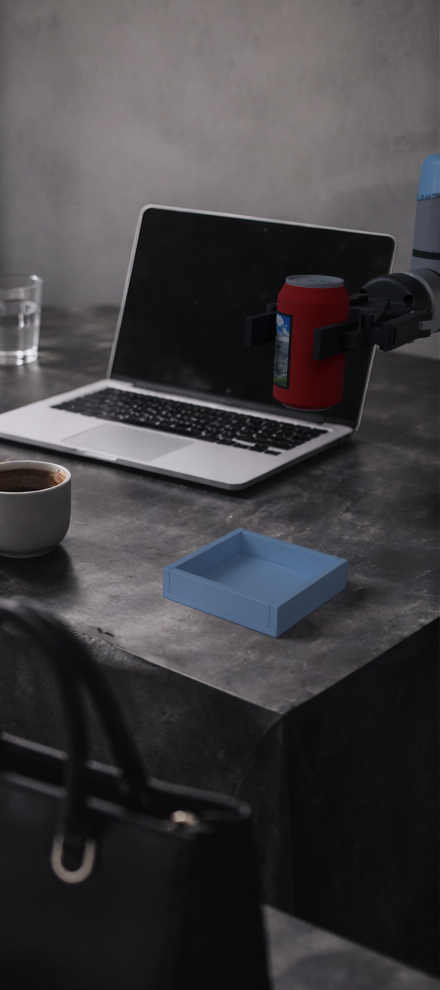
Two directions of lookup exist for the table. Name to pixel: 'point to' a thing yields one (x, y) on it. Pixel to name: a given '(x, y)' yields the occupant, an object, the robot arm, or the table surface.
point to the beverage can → (308, 342)
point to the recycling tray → (255, 580)
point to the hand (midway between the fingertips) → (282, 338)
